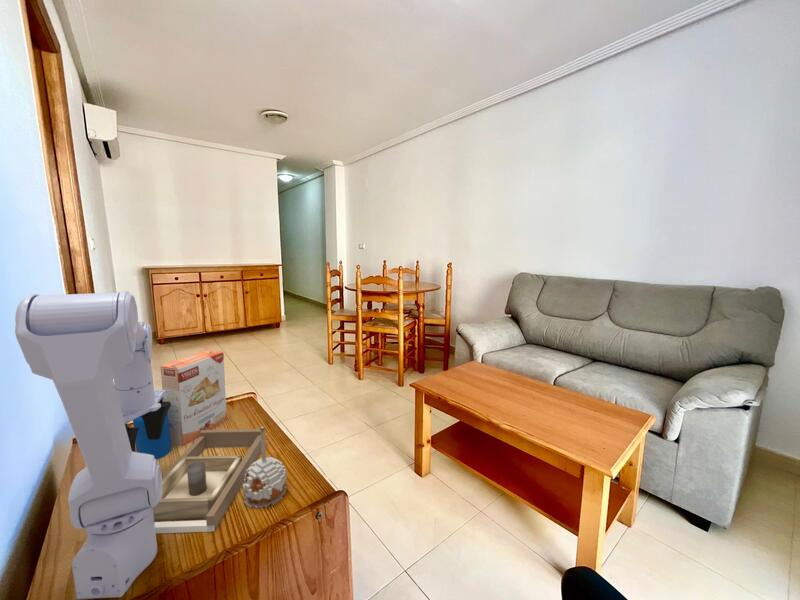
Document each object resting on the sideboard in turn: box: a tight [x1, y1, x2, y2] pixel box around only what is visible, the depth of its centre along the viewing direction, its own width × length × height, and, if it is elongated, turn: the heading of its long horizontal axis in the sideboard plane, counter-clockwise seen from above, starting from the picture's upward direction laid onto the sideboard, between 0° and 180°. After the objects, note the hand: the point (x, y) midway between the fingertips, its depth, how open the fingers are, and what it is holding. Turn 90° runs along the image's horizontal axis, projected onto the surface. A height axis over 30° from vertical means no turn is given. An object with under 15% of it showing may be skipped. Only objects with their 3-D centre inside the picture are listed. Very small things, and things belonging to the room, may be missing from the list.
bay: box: [154, 428, 262, 535], centre depth 69 cm, size 26×15×5 cm, turn 4°
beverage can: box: [132, 412, 172, 461], centre depth 77 cm, size 6×6×12 cm
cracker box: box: [160, 349, 228, 447], centre depth 87 cm, size 14×6×21 cm, turn 164°
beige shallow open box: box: [153, 454, 243, 521], centre depth 65 cm, size 13×12×6 cm
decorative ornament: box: [242, 426, 288, 509], centre depth 65 cm, size 8×8×15 cm
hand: (141, 449), depth 65 cm, fingers open, 7 cm apart
